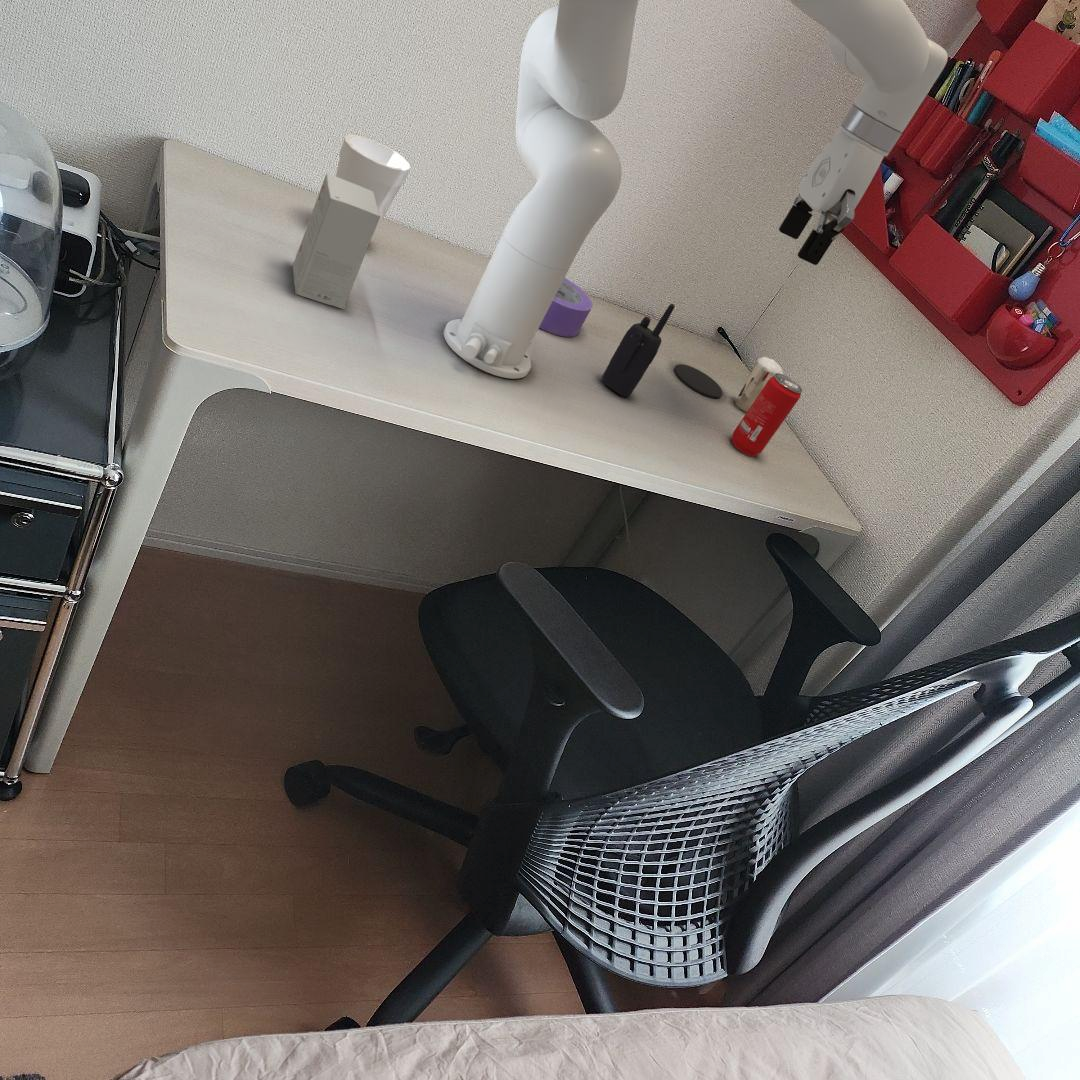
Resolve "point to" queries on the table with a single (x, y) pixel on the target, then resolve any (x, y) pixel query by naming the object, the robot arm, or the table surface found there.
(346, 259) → the small box
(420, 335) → the table surface
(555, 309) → the tape roll
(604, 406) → the table surface
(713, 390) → the coaster
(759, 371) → the milkshake
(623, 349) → the two-way radio
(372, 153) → the foam cup
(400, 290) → the table surface
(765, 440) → the beverage can
